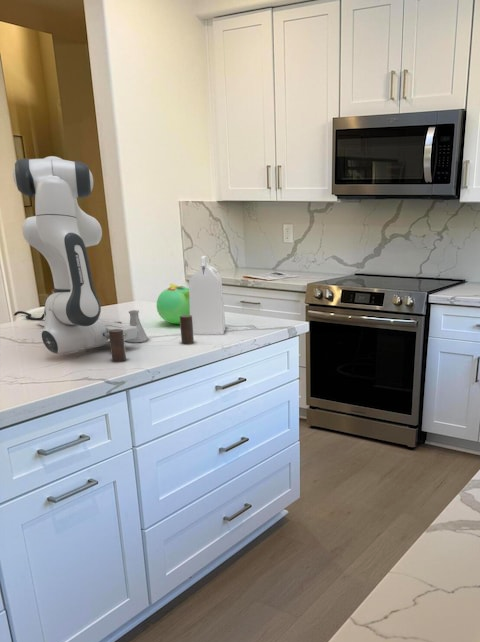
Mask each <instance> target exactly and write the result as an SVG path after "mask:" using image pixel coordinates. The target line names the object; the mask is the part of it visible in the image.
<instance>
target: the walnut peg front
mask: <svg viewBox="0 0 480 642" xmlns="http://www.w3.org/2000/svg"><path fill="white" fill-rule="evenodd" d="M109 338H110V339H109V346H110V353H111V361H112V362H114V363H115V362H116V363H121V362H126V361H127V354H126V344H125V340H124V335H123V330H122V329H112V330H109Z"/></svg>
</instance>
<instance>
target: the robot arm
mask: <svg viewBox="0 0 480 642" xmlns="http://www.w3.org/2000/svg"><path fill="white" fill-rule="evenodd" d="M12 178H13V182H14V184H15V187H16V188H17V191H18V192H20V193H21V194H22V195H24V196H26V197H28V198H29V199H33V198H34V211H35V212H34V213H35V215H34V216H33V215H32V216H29V217H26V218H25V220H24V221H23V224H22V227H21V229H22V230H21V232H22V236H23V238H24V240H25V242H27V243H28V244H29V245H30V246H31V247H33V248H34V249H35V250H37V251H38V252H39V253H40V254H41V255H42V256H43V257H44V258H45V260H46V261H47V263H48V266H49V268H50V271H51V275H52V281H53V288H52V289H50V293H51V294H49V295H48V296H47V297H46V299H45V302H44V308H43V313H42V315H41V316H40V317H32V314H31V313H29V312H27V311H23V310H19V311H16V312H14V314H13V316H15V317H16V316H17V315H19V314H21V315H25V318H26V319H27V320H31V321H38V322H37V323H38V325H39V326H42V327H43V329H42V331H41V340H42V343H43V345H44V346H45V347H46V349H47V350H48V351H49V352H50V353H53V354H57V355H65V354H71V353H76V352H80V351H81V350H84V349H86V350H89V349H94V348H99V347H103V346H105V345H106V344H107V342H108V340H110V338H109V330H112V329H122V330H123V335H124V341H126V340H128V339H134V338H137V336H138V334H137V331H140V330H141V326H140V325H133V326H130V324H125V323H122V321H118V320H117V321H109V320H104V319H100V316H101V312H102V307H101V306H102V305H101V302H100V299H99V297H98V295H97V293H96V289H95V286H94V282H93V277H92V272H91V266H90V261H89V255H88V252H87V248H89V247H93V246H97V245H99V243H100V242H101V240H102V237H103V228H102V226H101V224H100V222H99V221H98V219H96V218H95V217H94V216H93V215H90V214H88V213H86V212H85V211H84V210H82V208H81V207H80V205H79V203H78V199H85V198H89V197H90V195H92V191H93V189H94V176H93V173H92V172H91V170H90V167H89V165H87V163H85V162H82V161H78V160H75V161H72V160H67V159H63V158H61V157H59V156H56V155H55V156H54V155H50V156H46V157H44V158H29V157H26V158H20V159H17V160H16V162H15V163H14V167H13V171H12ZM77 198H78V199H77Z"/></svg>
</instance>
